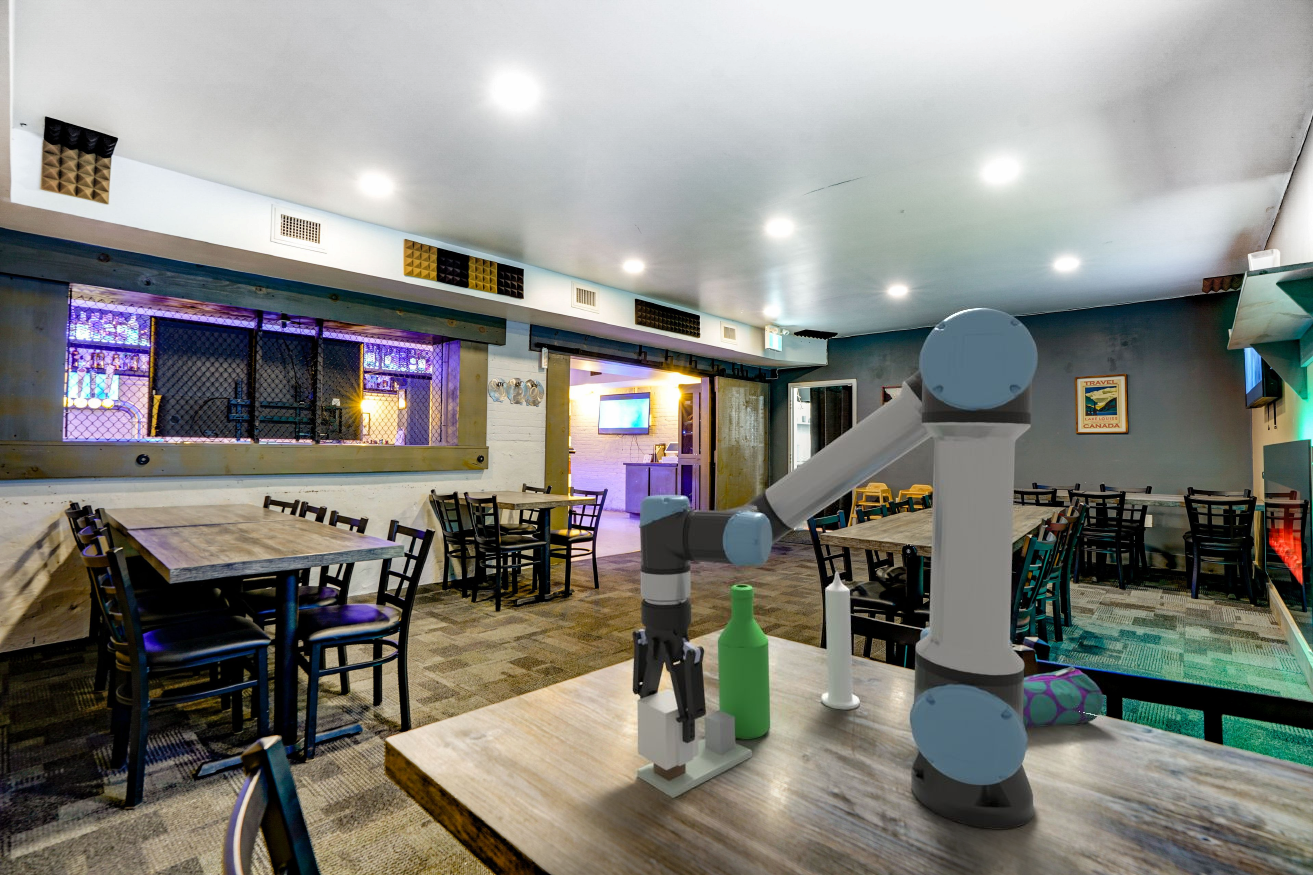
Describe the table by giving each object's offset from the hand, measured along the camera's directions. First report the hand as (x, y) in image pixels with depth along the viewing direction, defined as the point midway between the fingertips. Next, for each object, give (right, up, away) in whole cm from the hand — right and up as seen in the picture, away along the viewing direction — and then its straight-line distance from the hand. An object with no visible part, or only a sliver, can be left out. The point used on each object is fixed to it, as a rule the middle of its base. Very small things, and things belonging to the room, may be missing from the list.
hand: (668, 752), depth 92 cm
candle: (+34, -4, +26) cm, 43 cm away
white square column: (0, 0, 0) cm, 0 cm away
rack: (+4, -4, +3) cm, 7 cm away
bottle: (+14, -4, +15) cm, 21 cm away
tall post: (0, -4, 0) cm, 4 cm away
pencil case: (+64, -3, +15) cm, 66 cm away
